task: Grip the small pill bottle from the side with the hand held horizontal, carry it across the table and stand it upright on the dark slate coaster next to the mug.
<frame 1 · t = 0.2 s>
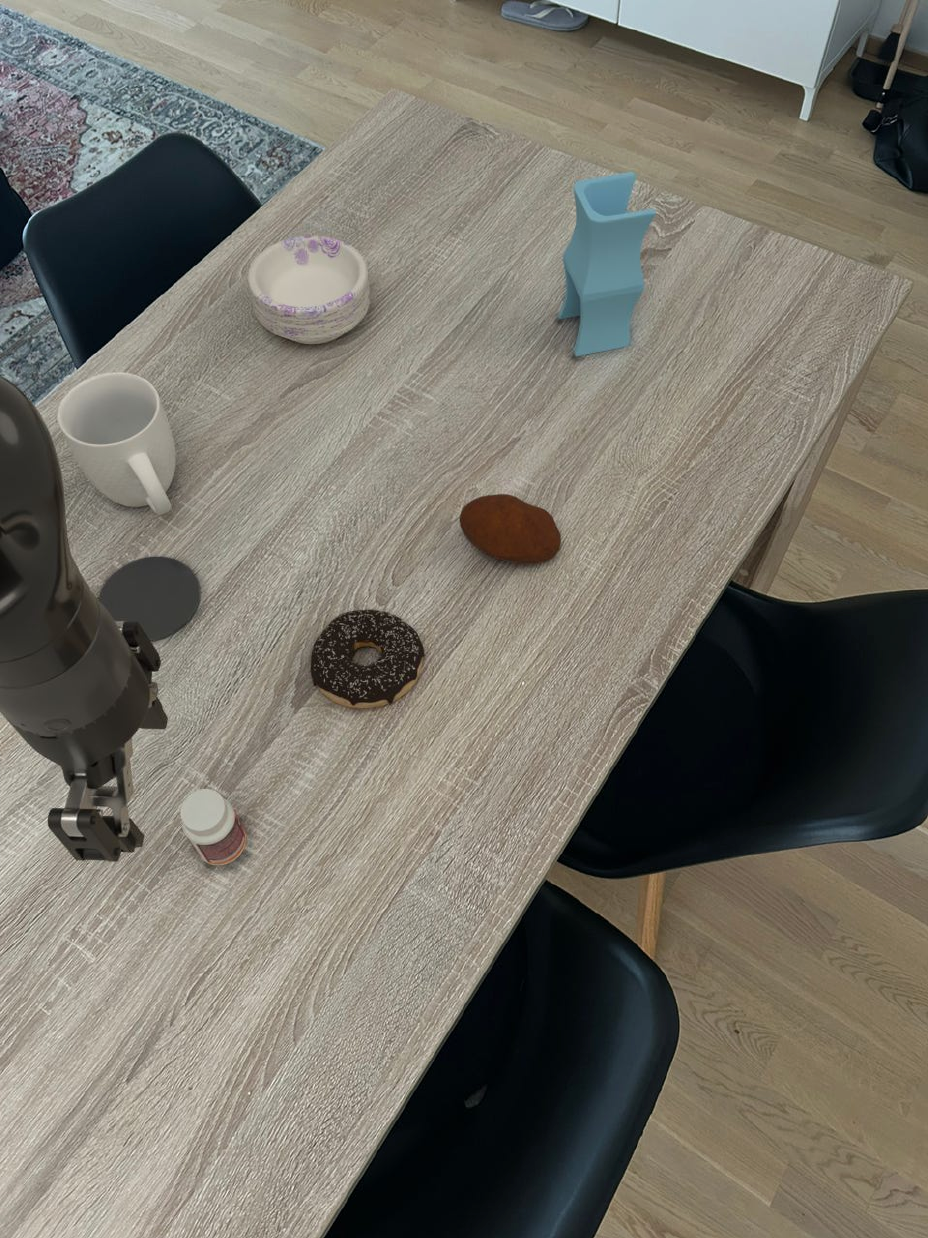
hand: (141, 782, 71), 30 cm above the table, tool pointing down, fingers open, 8 cm apart
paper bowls: (315, 320, 138), on the table
coaster: (150, 599, 114), on the table
mug: (145, 492, 122), on the table
donut: (369, 667, 110), on the table
vase: (595, 331, 136), on the table
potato: (508, 550, 118), on the table
pill bottle: (222, 843, 100), on the table
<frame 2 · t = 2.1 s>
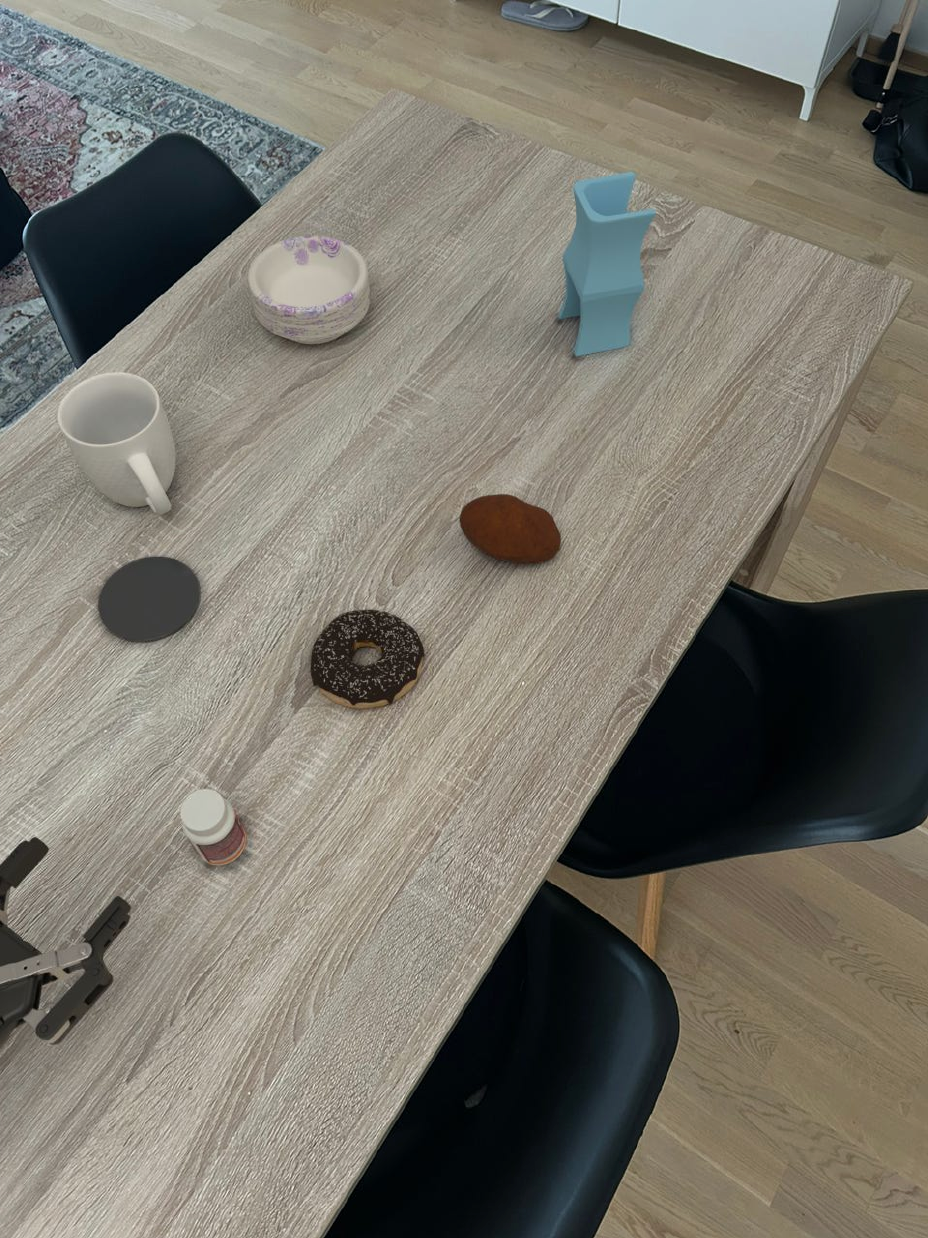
hand: (83, 871, 79), 18 cm above the table, tool horizontal, fingers open, 8 cm apart
nothing on the table moved.
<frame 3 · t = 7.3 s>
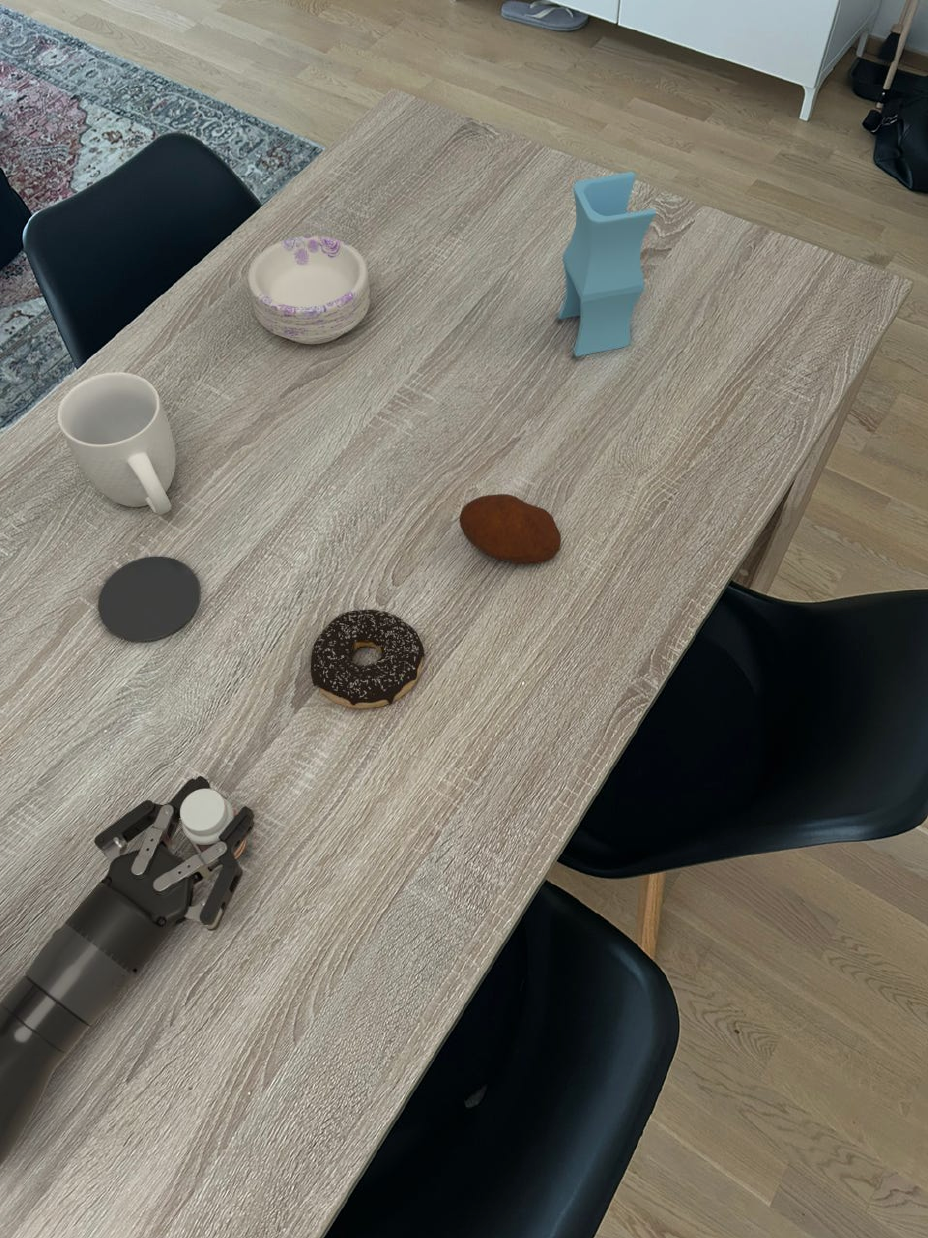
hand: (227, 796, 95), 6 cm above the table, tool horizontal, fingers closed on pill bottle, 4 cm apart
pill bottle: (222, 843, 100), on the table, touching gripper
everything else where it was.
when the fingers open (7 cm above the table, at t = 17.1 s): pill bottle stays where it is, resting on coaster.
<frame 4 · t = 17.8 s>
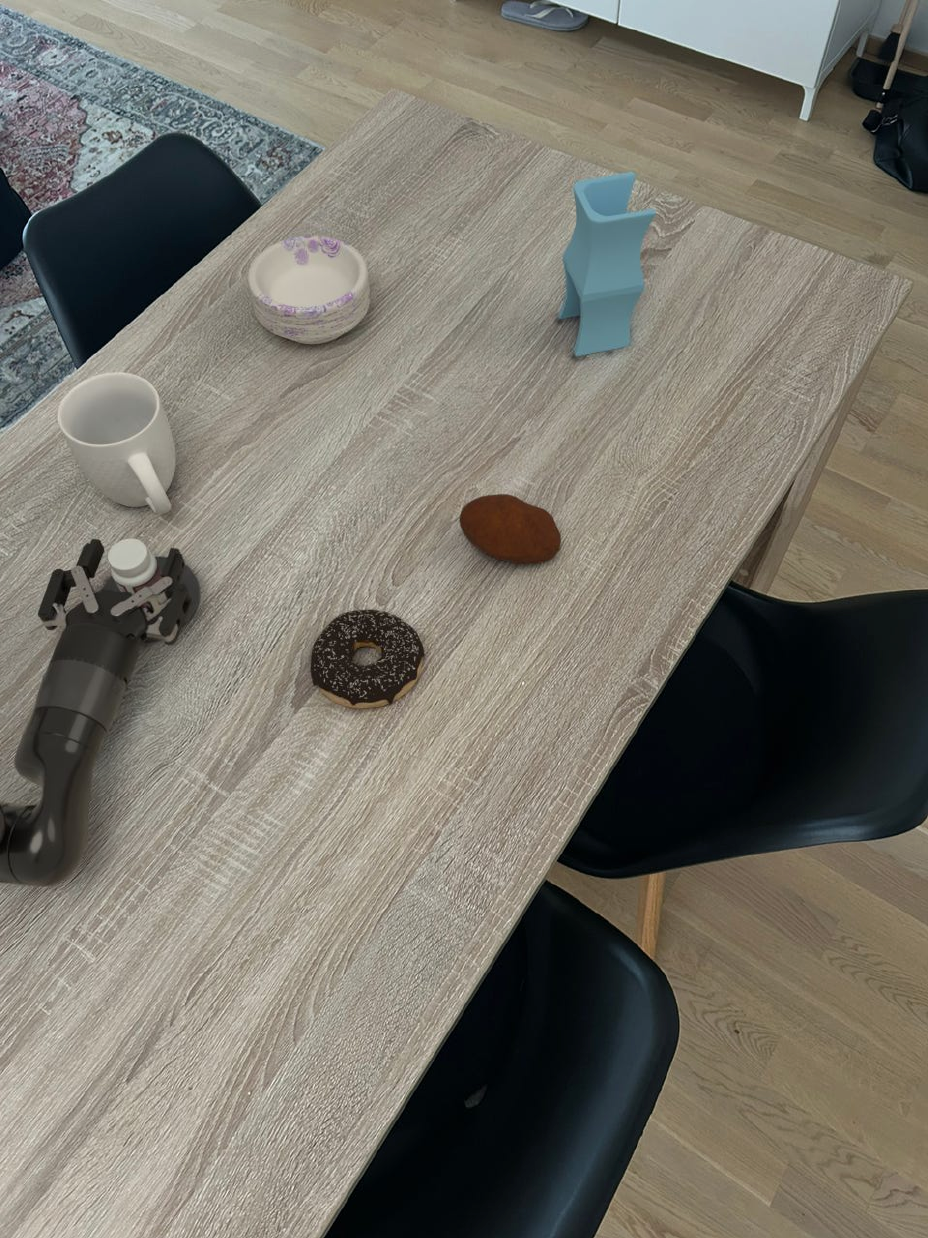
hand: (138, 547, 109), 7 cm above the table, tool horizontal, fingers open, 8 cm apart
pill bottle: (149, 599, 114), resting on coaster
everything else where it was.
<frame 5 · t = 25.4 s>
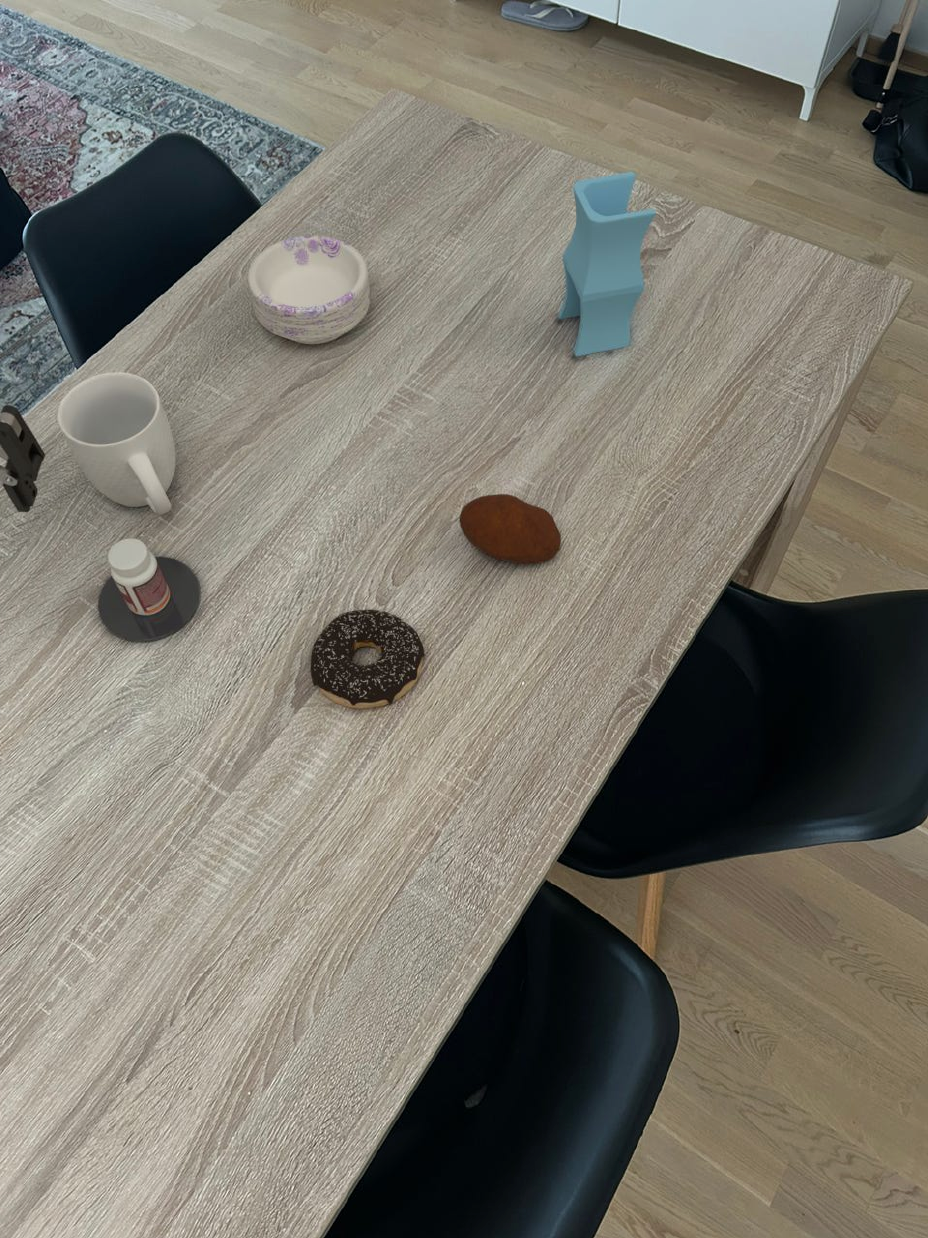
nothing on the table moved.
at the end: pill bottle 15.7 cm from the mug (horizontally); pill bottle 0.1 cm off-centre on the coaster, point 0.3 cm above the coaster's base; pill bottle tilted 0° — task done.
